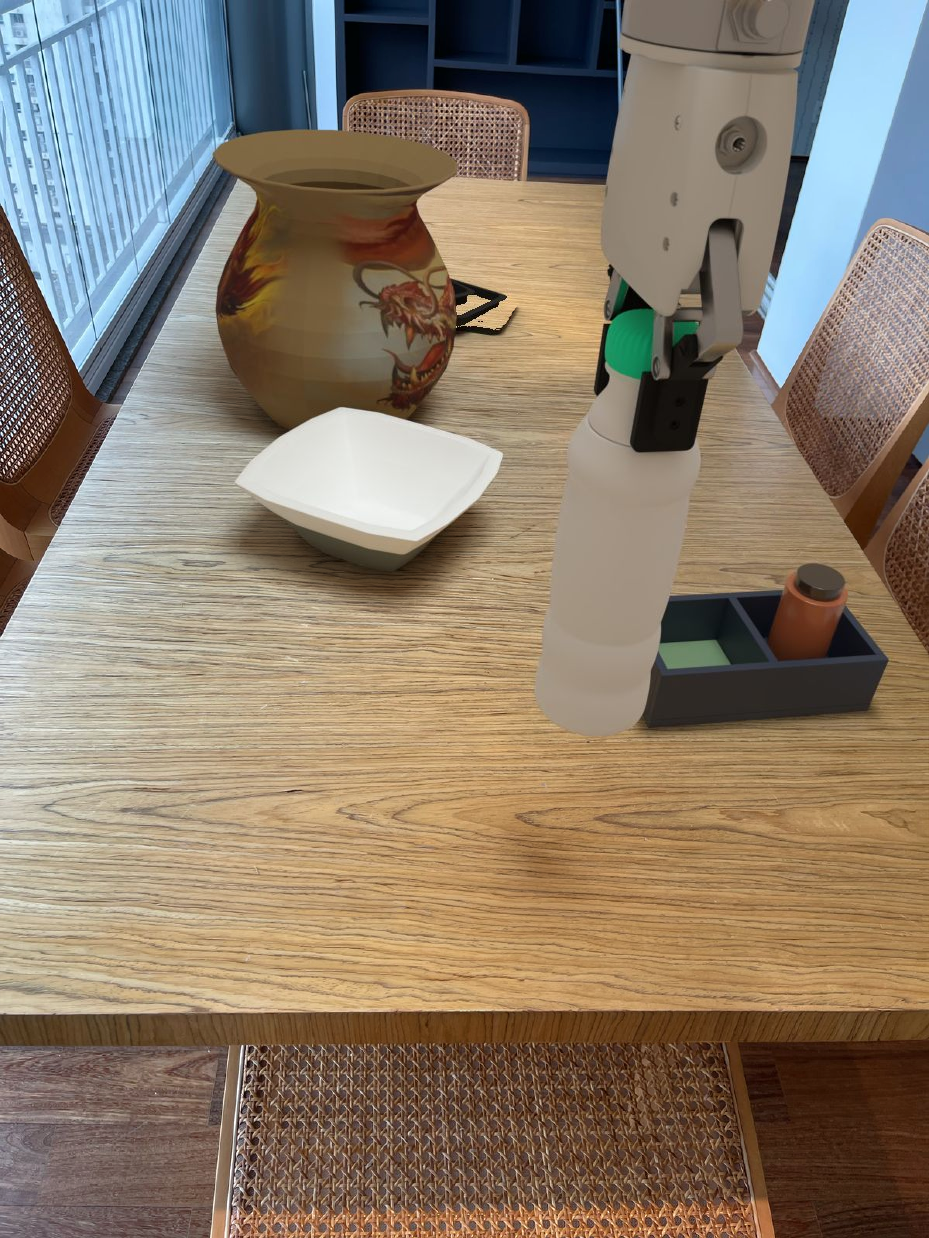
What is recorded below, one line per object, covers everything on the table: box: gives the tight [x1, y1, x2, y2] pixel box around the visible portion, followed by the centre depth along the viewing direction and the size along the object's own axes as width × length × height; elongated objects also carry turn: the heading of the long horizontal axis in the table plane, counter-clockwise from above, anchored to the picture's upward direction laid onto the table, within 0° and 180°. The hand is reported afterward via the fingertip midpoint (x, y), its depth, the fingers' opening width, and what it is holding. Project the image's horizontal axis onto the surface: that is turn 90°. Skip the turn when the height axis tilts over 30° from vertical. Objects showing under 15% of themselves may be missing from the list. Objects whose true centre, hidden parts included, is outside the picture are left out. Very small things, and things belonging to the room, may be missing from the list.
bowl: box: [234, 407, 504, 573], centre depth 102 cm, size 22×23×8 cm
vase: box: [212, 129, 458, 431], centre depth 120 cm, size 29×29×30 cm
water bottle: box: [533, 309, 702, 738], centre depth 56 cm, size 7×7×25 cm
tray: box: [450, 277, 507, 336], centre depth 155 cm, size 30×23×5 cm
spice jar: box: [766, 562, 849, 661], centre depth 88 cm, size 5×5×10 cm
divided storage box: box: [642, 589, 890, 729], centre depth 89 cm, size 11×20×6 cm, turn 100°
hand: (641, 418), depth 52 cm, fingers closed on water bottle, 5 cm apart
